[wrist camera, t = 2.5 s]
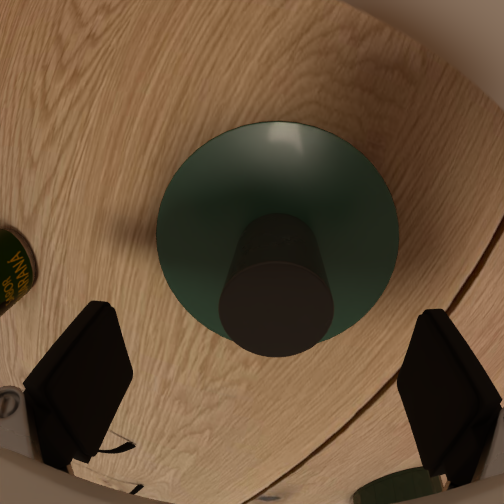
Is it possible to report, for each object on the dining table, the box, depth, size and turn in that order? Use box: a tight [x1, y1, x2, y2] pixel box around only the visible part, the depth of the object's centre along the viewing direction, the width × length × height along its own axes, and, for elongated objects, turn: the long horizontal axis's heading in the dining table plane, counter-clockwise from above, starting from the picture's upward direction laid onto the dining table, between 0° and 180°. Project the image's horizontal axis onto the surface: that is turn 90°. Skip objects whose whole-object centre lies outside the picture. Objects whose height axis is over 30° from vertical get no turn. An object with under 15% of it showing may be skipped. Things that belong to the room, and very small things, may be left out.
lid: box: [156, 121, 399, 357], centre depth 14 cm, size 13×13×7 cm
